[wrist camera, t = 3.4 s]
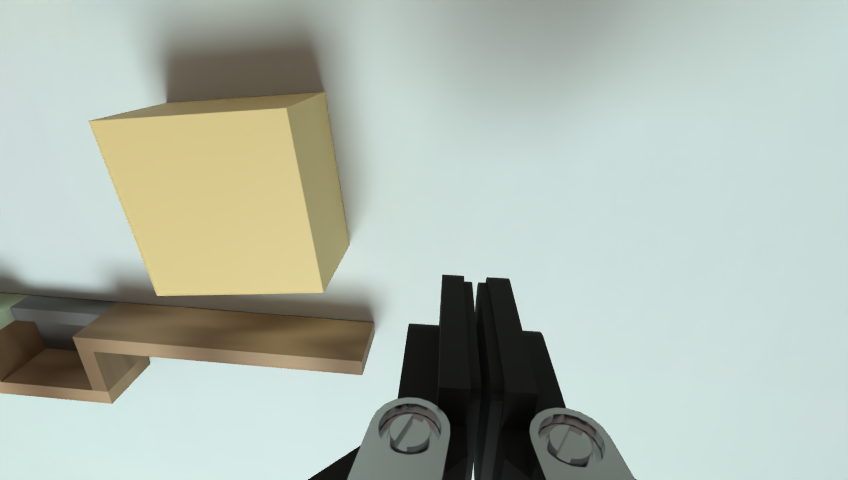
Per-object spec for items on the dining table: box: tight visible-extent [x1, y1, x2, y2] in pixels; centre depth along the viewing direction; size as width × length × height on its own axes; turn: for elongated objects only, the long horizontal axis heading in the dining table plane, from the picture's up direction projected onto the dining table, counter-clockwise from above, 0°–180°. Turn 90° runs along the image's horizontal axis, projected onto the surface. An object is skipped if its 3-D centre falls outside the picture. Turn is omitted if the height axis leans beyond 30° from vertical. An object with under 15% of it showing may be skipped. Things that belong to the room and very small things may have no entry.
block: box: [89, 92, 350, 296], centre depth 18 cm, size 7×7×4 cm
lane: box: [0, 293, 374, 404], centre depth 18 cm, size 26×23×4 cm
